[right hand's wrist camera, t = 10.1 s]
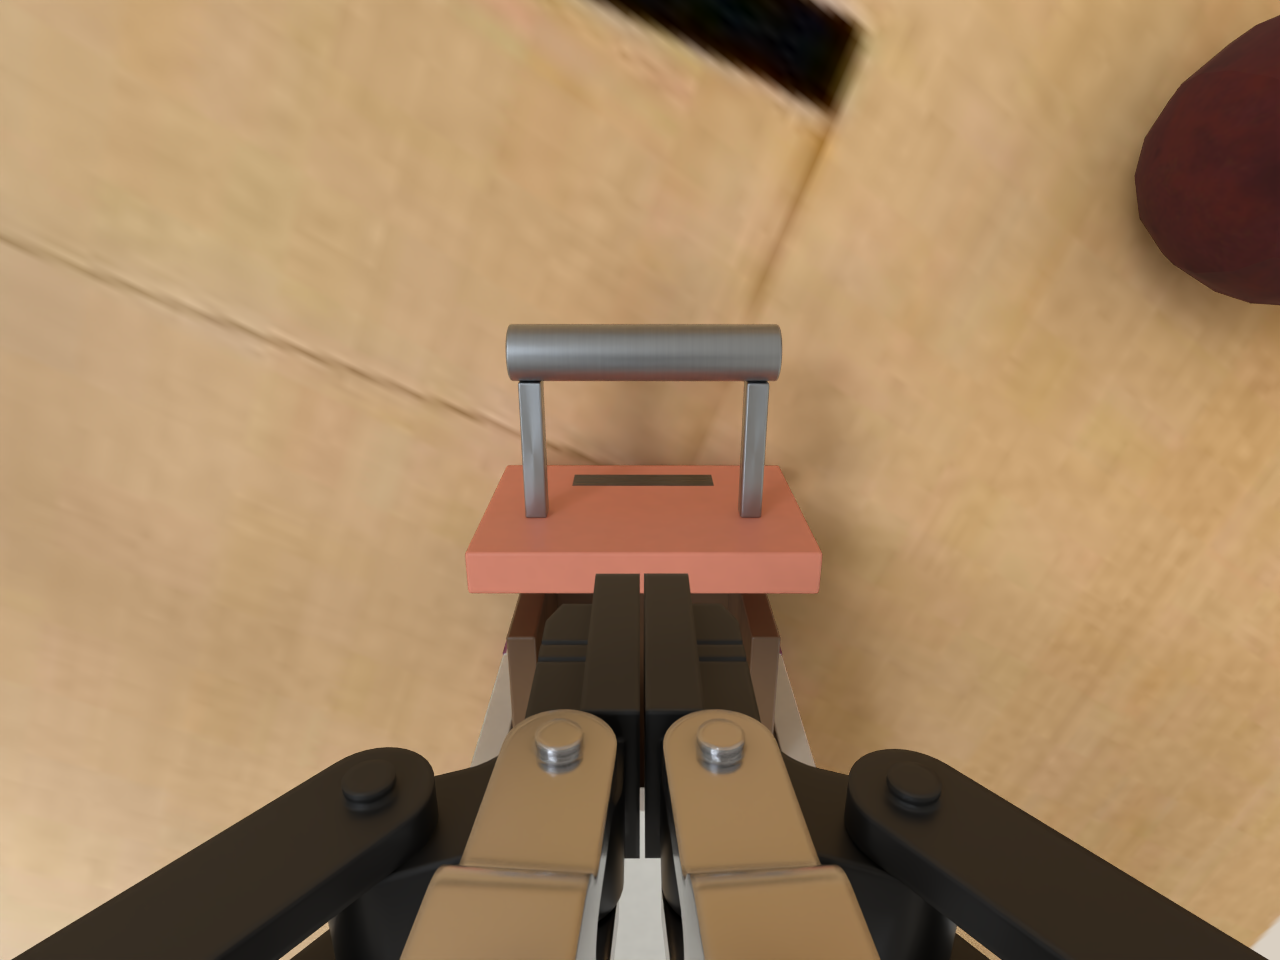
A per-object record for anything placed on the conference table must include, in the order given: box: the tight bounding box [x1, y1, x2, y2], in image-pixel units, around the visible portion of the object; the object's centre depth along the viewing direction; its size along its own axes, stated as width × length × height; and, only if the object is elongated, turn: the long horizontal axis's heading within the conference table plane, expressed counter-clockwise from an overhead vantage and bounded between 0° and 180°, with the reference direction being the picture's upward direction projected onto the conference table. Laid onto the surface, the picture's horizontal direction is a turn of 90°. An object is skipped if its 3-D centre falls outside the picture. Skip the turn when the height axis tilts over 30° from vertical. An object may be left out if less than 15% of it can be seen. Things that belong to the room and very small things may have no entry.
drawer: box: [465, 324, 822, 787], centre depth 24 cm, size 20×9×7 cm, turn 0°
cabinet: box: [470, 641, 816, 960], centre depth 28 cm, size 16×10×9 cm, turn 0°
